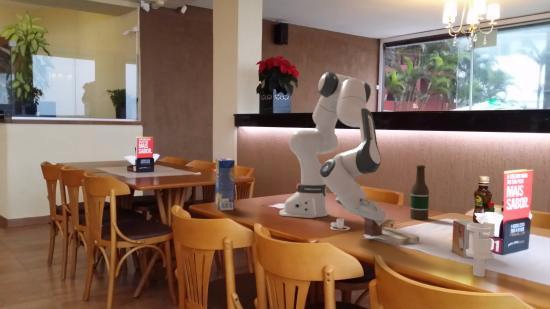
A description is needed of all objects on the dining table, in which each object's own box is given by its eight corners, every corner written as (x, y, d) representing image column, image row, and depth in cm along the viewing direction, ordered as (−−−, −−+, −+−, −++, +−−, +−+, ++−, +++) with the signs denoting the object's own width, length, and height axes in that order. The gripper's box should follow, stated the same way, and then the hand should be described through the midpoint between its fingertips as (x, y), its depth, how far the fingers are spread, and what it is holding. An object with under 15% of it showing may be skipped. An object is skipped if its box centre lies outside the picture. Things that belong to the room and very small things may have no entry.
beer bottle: (429, 220, 209) (431, 166, 207) (410, 219, 210) (412, 165, 209) (427, 217, 216) (428, 165, 215) (409, 216, 218) (411, 164, 217)
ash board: (399, 244, 165) (399, 238, 165) (368, 233, 181) (368, 228, 181) (419, 242, 169) (419, 236, 169) (386, 231, 185) (387, 226, 185)
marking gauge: (371, 236, 170) (372, 212, 169) (364, 233, 174) (365, 210, 174) (397, 233, 175) (398, 210, 174) (389, 231, 179) (390, 208, 178)
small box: (451, 251, 157) (452, 219, 157) (467, 251, 158) (468, 219, 157) (463, 258, 149) (464, 225, 149) (480, 257, 150) (481, 224, 149)
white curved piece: (329, 226, 196) (329, 216, 196) (348, 226, 196) (348, 217, 196) (330, 231, 187) (331, 220, 187) (351, 231, 187) (351, 221, 187)
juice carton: (234, 209, 230) (234, 160, 229) (219, 210, 228) (219, 160, 227) (229, 205, 242) (230, 158, 240) (215, 206, 240) (215, 158, 238)
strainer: (487, 280, 127) (489, 225, 126) (461, 275, 132) (463, 221, 131) (496, 274, 132) (498, 221, 131) (470, 269, 137) (472, 218, 136)
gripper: (376, 195, 160) (398, 221, 164) (342, 187, 178) (363, 211, 183) (365, 208, 158) (387, 235, 163) (332, 199, 177) (353, 223, 181)
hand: (374, 222), depth 173 cm, fingers closed on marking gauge, 4 cm apart
